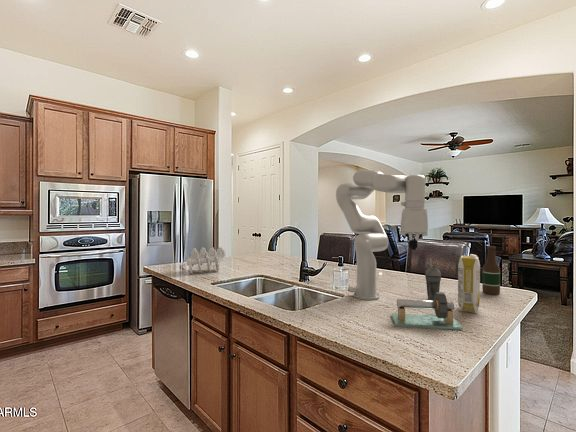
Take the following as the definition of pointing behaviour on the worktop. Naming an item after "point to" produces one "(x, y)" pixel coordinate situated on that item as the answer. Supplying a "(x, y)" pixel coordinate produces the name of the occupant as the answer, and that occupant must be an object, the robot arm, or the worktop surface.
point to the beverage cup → (432, 281)
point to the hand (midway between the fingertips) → (413, 249)
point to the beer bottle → (491, 273)
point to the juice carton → (469, 283)
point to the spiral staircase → (206, 258)
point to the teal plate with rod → (424, 320)
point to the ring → (441, 305)
